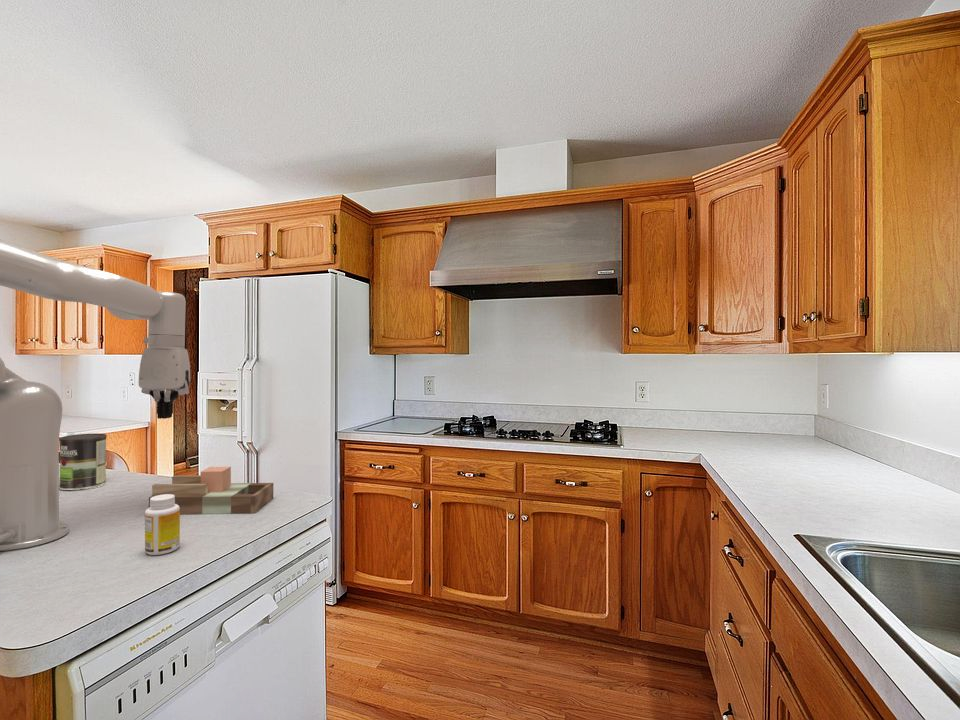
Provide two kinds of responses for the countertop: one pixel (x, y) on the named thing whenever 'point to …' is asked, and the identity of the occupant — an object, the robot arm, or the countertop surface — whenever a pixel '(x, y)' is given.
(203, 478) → the block
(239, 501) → the brown rectangular tray
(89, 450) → the coffee can
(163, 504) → the supplement bottle
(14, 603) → the countertop surface
